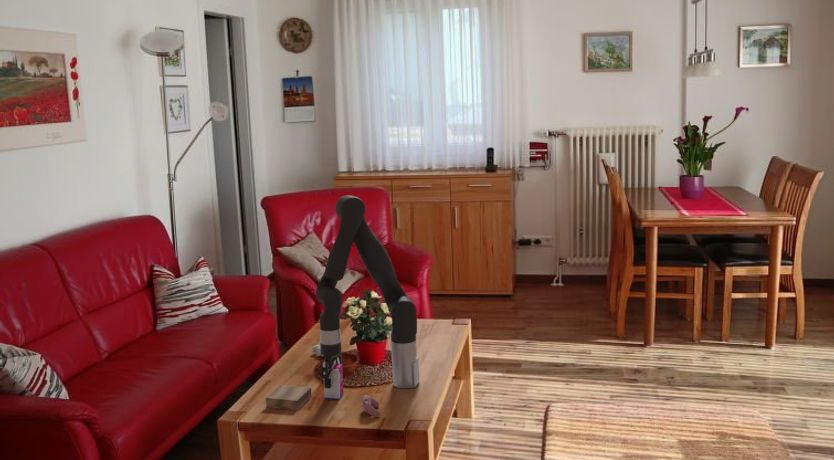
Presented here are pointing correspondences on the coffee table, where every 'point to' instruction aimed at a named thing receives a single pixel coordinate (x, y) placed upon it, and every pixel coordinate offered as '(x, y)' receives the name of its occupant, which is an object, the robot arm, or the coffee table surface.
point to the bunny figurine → (317, 350)
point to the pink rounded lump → (370, 405)
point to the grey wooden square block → (288, 397)
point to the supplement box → (335, 384)
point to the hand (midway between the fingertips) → (332, 383)
